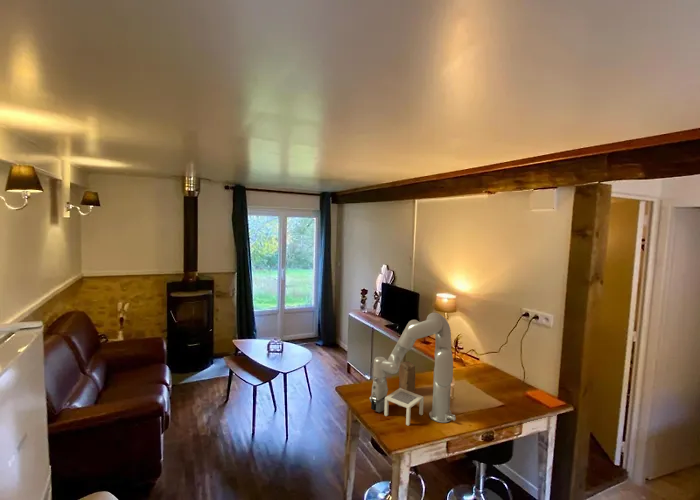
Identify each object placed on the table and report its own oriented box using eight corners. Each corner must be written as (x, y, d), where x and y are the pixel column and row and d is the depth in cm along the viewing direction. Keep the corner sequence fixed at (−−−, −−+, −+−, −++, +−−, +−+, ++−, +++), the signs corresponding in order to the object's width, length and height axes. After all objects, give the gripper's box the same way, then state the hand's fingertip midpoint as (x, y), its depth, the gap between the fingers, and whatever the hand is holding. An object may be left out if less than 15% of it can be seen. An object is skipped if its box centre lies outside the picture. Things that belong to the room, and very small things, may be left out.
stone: (384, 409, 219) (384, 399, 218) (379, 412, 215) (380, 402, 215) (377, 406, 222) (378, 396, 222) (372, 409, 218) (373, 399, 218)
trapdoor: (416, 398, 213) (416, 397, 213) (407, 404, 206) (407, 403, 206) (401, 392, 220) (401, 391, 220) (391, 398, 212) (391, 397, 212)
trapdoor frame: (422, 414, 215) (423, 396, 214) (408, 425, 202) (409, 407, 201) (399, 404, 225) (399, 388, 224) (384, 415, 213) (384, 397, 212)
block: (415, 395, 237) (416, 365, 235) (405, 397, 234) (406, 366, 232) (406, 388, 247) (407, 359, 245) (396, 390, 244) (397, 360, 242)
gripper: (376, 385, 208) (375, 414, 210) (393, 375, 221) (392, 403, 223) (365, 381, 213) (364, 409, 214) (382, 372, 226) (381, 399, 228)
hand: (378, 406), depth 219 cm, fingers open, 9 cm apart
